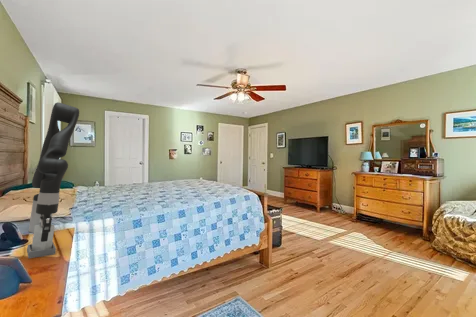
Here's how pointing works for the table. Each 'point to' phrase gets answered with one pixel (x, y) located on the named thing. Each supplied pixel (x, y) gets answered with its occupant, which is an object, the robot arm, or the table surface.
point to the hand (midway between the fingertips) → (42, 238)
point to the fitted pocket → (40, 251)
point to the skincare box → (37, 242)
